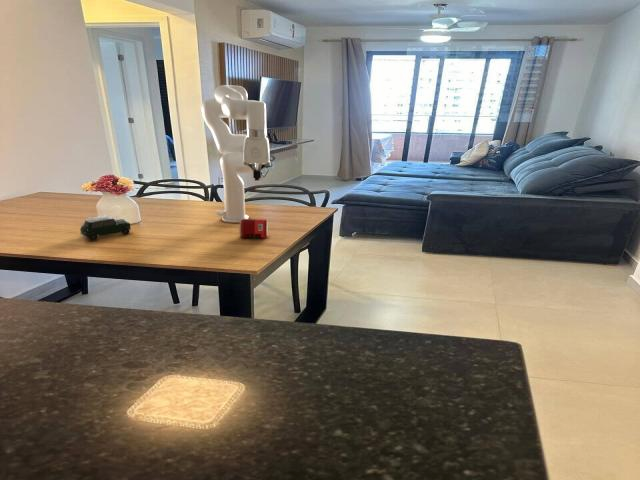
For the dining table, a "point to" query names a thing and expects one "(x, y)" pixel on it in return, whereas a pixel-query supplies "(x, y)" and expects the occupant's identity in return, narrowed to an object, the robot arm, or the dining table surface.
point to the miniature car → (103, 227)
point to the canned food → (253, 228)
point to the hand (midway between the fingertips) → (257, 179)
